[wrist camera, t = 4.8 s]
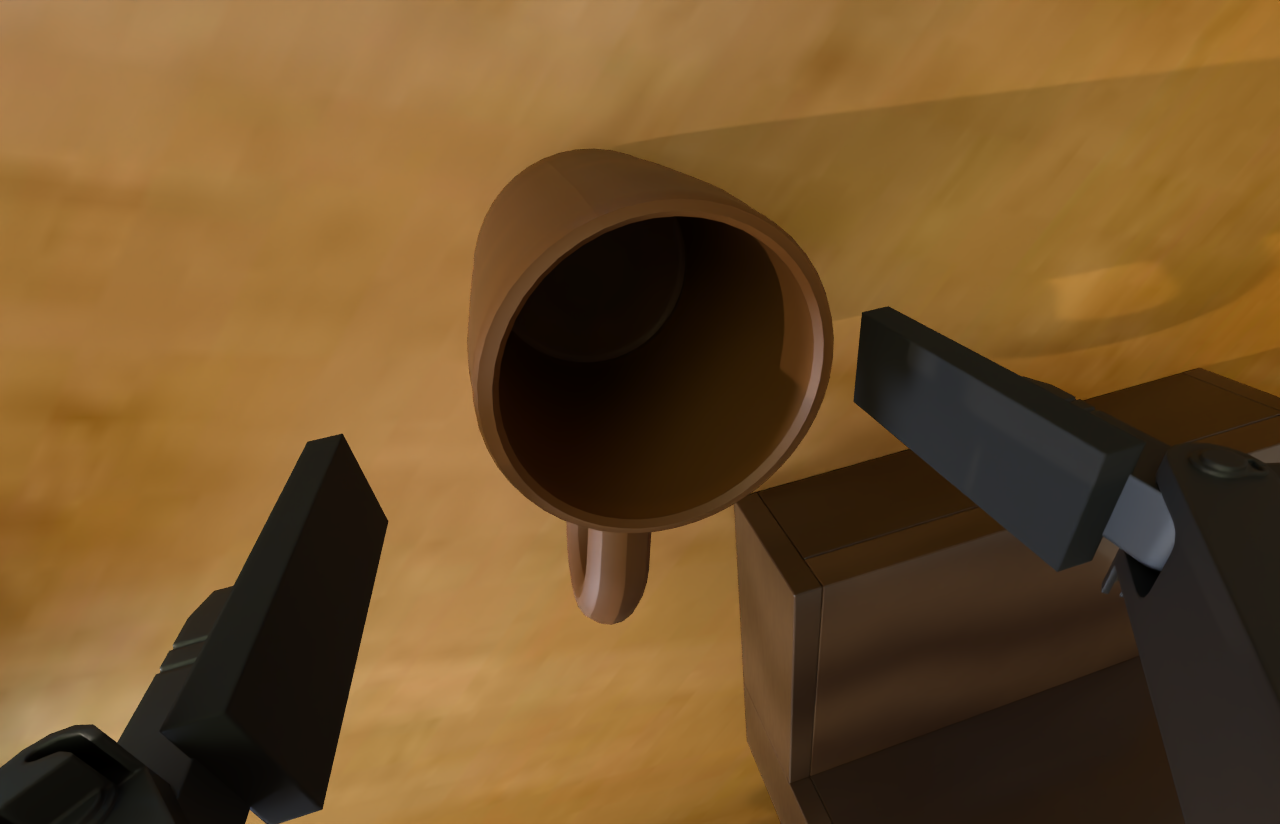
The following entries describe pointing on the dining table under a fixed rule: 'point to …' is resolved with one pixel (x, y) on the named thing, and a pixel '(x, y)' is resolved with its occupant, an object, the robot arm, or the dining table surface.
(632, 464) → the mug
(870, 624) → the stepped stand
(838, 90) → the dining table surface
